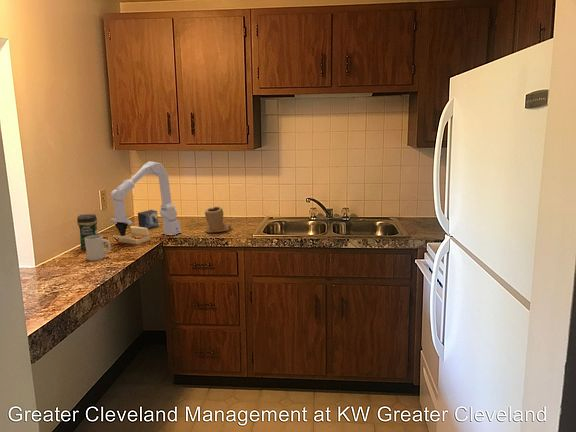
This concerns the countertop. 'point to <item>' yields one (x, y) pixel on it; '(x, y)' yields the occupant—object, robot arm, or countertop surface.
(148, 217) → the small box
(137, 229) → the right flap
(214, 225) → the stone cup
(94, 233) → the coffee jar
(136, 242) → the cream shallow tray
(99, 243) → the mug
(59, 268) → the countertop surface
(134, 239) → the left flap
